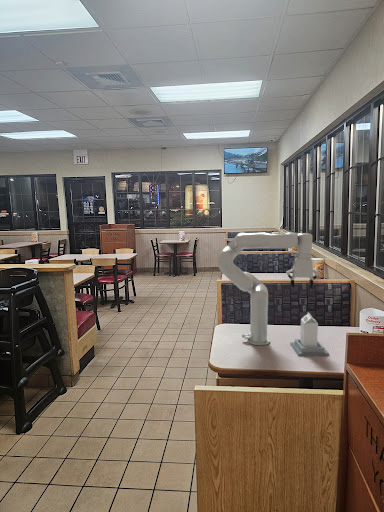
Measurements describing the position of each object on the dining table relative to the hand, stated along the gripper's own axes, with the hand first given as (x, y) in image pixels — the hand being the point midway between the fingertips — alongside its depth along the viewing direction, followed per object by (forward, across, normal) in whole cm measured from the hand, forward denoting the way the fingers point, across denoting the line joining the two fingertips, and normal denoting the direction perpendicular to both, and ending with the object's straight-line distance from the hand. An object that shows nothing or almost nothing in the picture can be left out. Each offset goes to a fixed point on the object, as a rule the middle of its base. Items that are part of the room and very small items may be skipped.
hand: (301, 287), depth 194 cm
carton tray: (+33, +4, -7) cm, 34 cm away
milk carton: (+32, +4, -7) cm, 33 cm away
